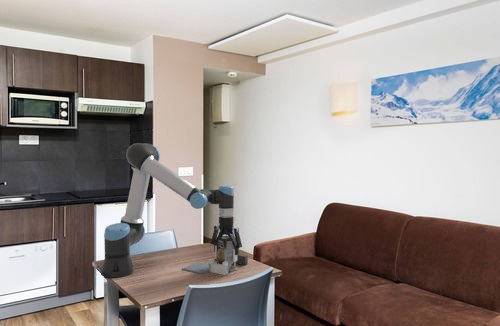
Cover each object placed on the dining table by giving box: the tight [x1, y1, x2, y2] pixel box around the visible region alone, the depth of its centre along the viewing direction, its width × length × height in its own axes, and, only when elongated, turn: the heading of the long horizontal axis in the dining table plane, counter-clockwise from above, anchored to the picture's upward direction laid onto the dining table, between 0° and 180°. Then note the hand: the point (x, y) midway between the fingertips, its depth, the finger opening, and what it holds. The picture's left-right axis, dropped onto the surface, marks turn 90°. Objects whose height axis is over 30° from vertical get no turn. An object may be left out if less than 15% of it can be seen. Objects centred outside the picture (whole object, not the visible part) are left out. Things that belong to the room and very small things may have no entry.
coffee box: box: [216, 235, 237, 273], centre depth 190 cm, size 9×6×16 cm
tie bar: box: [215, 253, 249, 266], centre depth 202 cm, size 19×3×5 cm, turn 59°
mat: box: [181, 261, 209, 275], centre depth 191 cm, size 13×13×1 cm
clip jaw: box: [208, 258, 229, 276], centre depth 184 cm, size 10×2×6 cm, turn 59°
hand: (226, 259), depth 190 cm, fingers closed on coffee box, 10 cm apart
